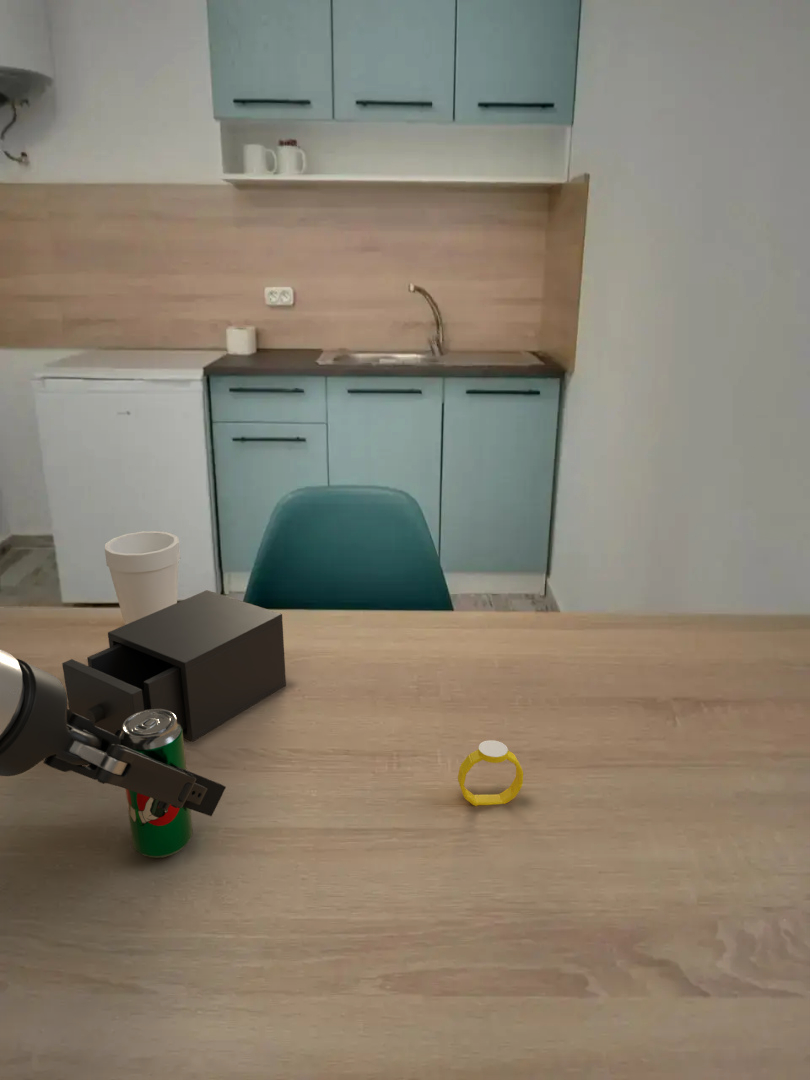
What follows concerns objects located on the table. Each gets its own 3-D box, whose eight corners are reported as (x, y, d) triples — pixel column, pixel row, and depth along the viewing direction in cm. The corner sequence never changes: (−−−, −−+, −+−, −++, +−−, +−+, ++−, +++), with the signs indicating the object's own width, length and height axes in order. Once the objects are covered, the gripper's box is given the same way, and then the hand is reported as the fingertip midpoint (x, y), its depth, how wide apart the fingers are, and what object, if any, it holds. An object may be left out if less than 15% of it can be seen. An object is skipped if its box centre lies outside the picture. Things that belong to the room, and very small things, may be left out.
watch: (461, 814, 77) (462, 759, 75) (455, 795, 80) (456, 742, 78) (523, 808, 78) (527, 754, 76) (516, 790, 80) (519, 737, 78)
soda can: (205, 834, 73) (194, 716, 69) (162, 869, 69) (148, 746, 65) (164, 815, 75) (150, 700, 71) (120, 848, 71) (103, 728, 67)
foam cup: (169, 650, 108) (159, 557, 104) (103, 645, 110) (91, 553, 105) (197, 619, 117) (189, 533, 113) (136, 615, 118) (126, 529, 114)
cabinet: (192, 743, 88) (184, 663, 85) (117, 708, 95) (107, 632, 92) (286, 687, 99) (282, 613, 96) (213, 658, 106) (207, 589, 103)
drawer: (130, 768, 82) (121, 699, 80) (61, 732, 88) (51, 667, 86) (238, 705, 94) (233, 642, 91) (170, 677, 100) (164, 618, 97)
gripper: (-115, 717, 59) (107, 792, 78) (33, 811, 50) (246, 871, 68) (-54, 624, 62) (147, 717, 80) (98, 696, 52) (287, 784, 70)
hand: (192, 788), depth 74 cm, fingers closed on soda can, 5 cm apart
